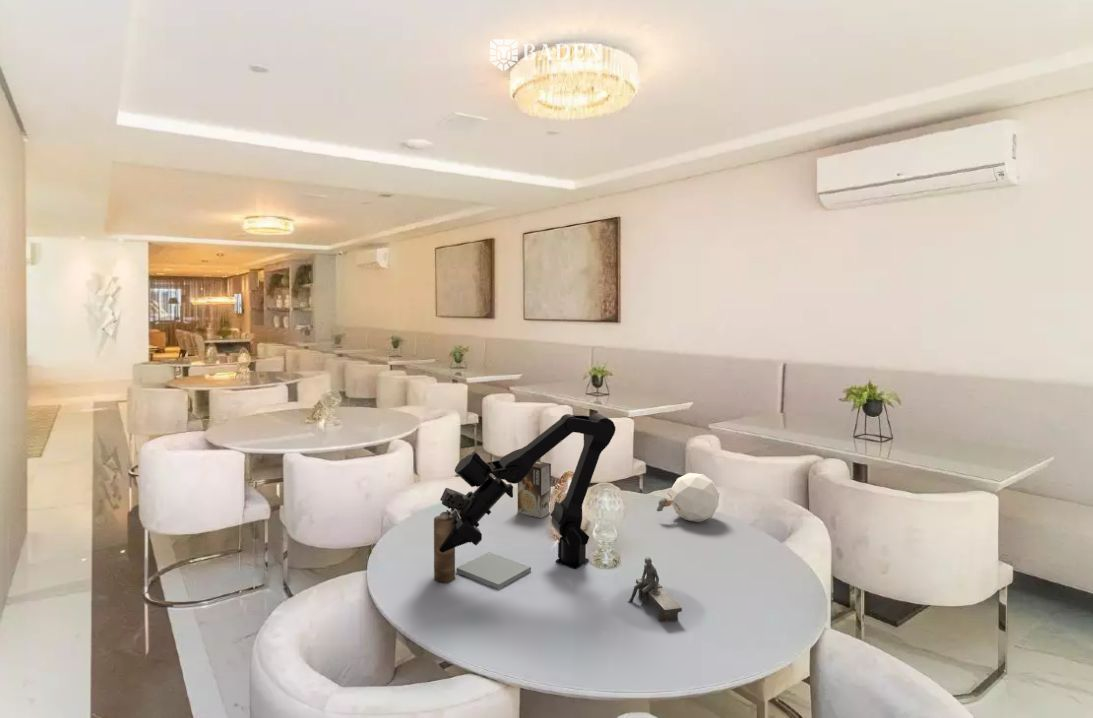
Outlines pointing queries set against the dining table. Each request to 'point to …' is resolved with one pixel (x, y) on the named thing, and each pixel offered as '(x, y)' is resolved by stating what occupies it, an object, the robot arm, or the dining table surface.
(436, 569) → the pepper mill
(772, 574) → the dining table surface
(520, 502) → the coffee box
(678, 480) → the faceted white ball
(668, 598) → the sculpture
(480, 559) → the slate board
